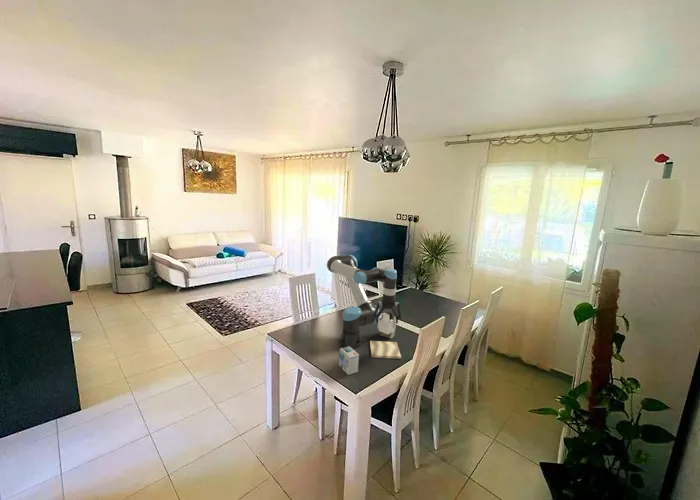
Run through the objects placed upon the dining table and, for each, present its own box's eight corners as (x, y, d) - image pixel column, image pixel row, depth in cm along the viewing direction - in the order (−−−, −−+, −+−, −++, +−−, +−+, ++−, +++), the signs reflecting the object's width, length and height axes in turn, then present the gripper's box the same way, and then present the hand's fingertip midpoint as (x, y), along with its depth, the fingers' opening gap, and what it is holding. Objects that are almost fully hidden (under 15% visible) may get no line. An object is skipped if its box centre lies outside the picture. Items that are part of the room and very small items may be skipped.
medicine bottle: (384, 327, 193) (385, 309, 190) (393, 331, 188) (395, 313, 186) (378, 330, 187) (379, 313, 185) (387, 334, 183) (389, 316, 181)
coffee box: (379, 335, 211) (380, 314, 208) (383, 331, 216) (384, 311, 213) (391, 339, 206) (393, 317, 203) (394, 335, 211) (396, 314, 208)
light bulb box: (338, 365, 171) (339, 348, 169) (348, 362, 175) (349, 345, 173) (348, 375, 163) (349, 357, 161) (358, 372, 166) (359, 354, 164)
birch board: (371, 357, 182) (371, 355, 181) (369, 342, 199) (370, 340, 199) (400, 358, 182) (401, 356, 181) (396, 344, 199) (396, 342, 199)
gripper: (371, 295, 180) (369, 329, 184) (408, 297, 180) (405, 331, 184) (370, 291, 187) (368, 324, 191) (406, 292, 187) (403, 326, 191)
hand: (386, 327), depth 187 cm, fingers closed on medicine bottle, 10 cm apart
